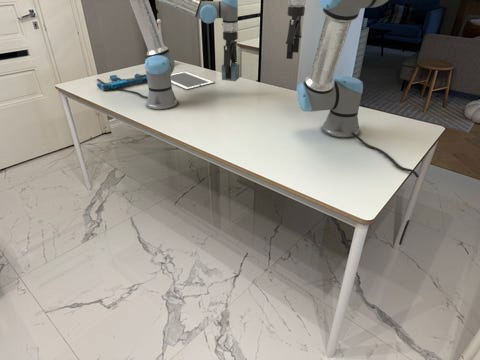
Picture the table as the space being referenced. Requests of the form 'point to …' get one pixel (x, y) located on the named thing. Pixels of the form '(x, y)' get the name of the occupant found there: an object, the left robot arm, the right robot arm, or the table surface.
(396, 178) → the table surface
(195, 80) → the tablet
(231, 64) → the grey cube
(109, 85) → the submachine gun
